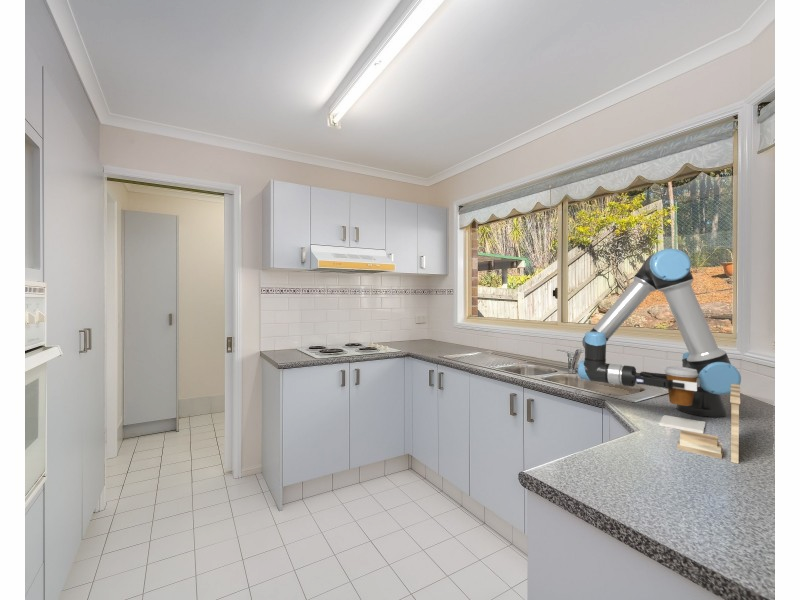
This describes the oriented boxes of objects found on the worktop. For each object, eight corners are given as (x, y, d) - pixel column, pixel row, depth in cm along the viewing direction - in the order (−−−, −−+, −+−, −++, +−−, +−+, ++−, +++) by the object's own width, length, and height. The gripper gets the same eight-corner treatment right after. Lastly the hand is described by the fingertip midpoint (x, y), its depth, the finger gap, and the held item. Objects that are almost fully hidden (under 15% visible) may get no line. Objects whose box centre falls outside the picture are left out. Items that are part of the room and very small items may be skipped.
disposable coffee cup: (704, 408, 128) (704, 372, 128) (671, 406, 130) (672, 370, 130) (689, 400, 137) (689, 367, 137) (659, 398, 139) (659, 365, 139)
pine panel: (730, 437, 122) (731, 383, 122) (739, 439, 120) (739, 384, 120) (729, 462, 103) (730, 398, 103) (739, 464, 102) (740, 399, 102)
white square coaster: (664, 417, 142) (664, 414, 142) (705, 424, 134) (705, 421, 134) (659, 425, 133) (659, 422, 133) (703, 433, 125) (703, 430, 125)
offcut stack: (679, 444, 116) (679, 429, 116) (722, 454, 109) (722, 437, 109) (677, 450, 112) (677, 433, 112) (721, 460, 105) (721, 442, 105)
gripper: (628, 380, 153) (700, 390, 138) (615, 389, 138) (695, 401, 122) (629, 361, 153) (701, 369, 138) (615, 368, 138) (695, 378, 122)
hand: (698, 384), depth 130 cm, fingers closed on disposable coffee cup, 8 cm apart
